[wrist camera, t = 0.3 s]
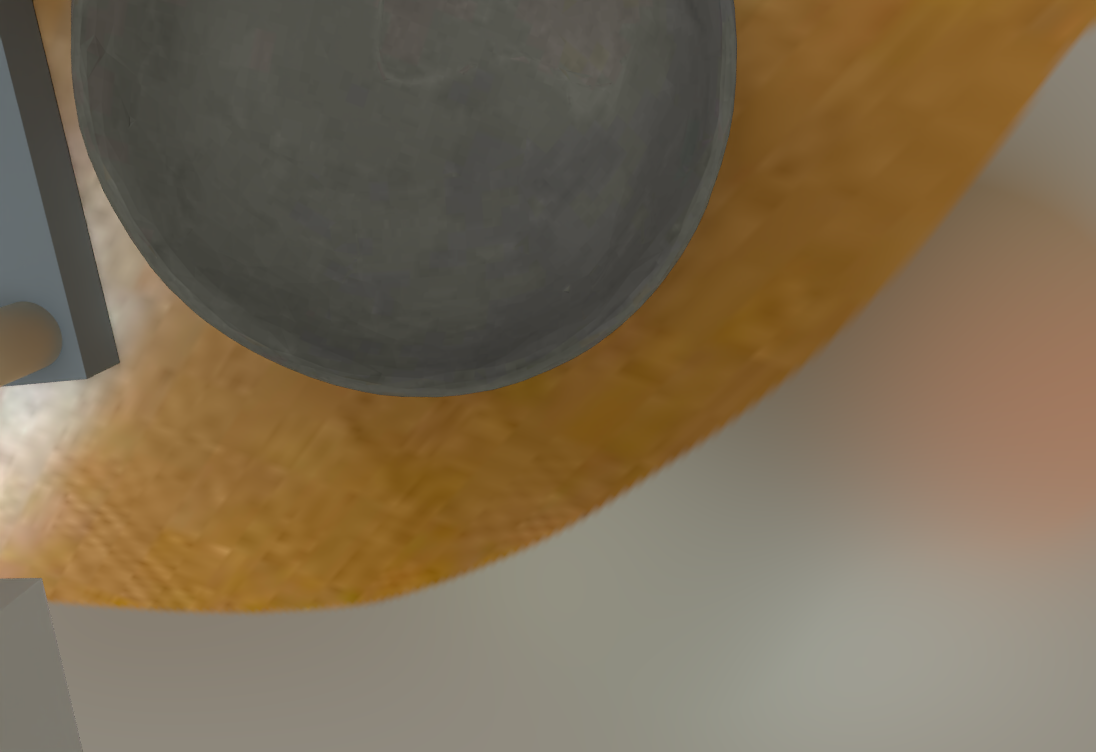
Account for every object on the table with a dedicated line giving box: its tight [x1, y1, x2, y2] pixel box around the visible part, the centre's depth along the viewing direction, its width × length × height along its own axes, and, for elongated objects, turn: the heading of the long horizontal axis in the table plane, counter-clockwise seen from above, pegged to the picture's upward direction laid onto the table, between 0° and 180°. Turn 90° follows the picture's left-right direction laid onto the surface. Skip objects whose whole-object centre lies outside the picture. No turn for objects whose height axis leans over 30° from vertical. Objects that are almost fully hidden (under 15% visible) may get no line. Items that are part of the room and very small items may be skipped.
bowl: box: [71, 0, 737, 397], centre depth 33 cm, size 21×21×8 cm
